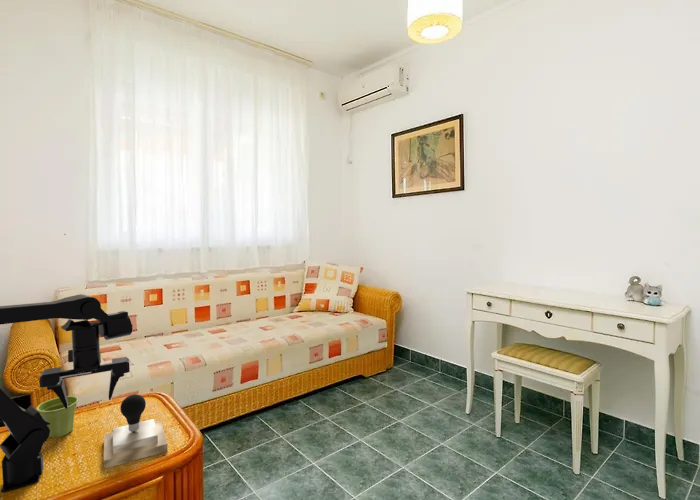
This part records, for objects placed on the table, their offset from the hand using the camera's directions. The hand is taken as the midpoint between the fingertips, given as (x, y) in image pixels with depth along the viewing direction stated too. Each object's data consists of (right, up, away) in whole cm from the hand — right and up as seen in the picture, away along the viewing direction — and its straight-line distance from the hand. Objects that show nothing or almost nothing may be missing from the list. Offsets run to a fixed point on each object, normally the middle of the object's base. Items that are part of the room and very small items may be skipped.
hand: (88, 403), depth 100 cm
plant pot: (-15, -13, +10) cm, 22 cm away
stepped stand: (+10, -13, +4) cm, 17 cm away
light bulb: (+10, -9, +3) cm, 14 cm away
